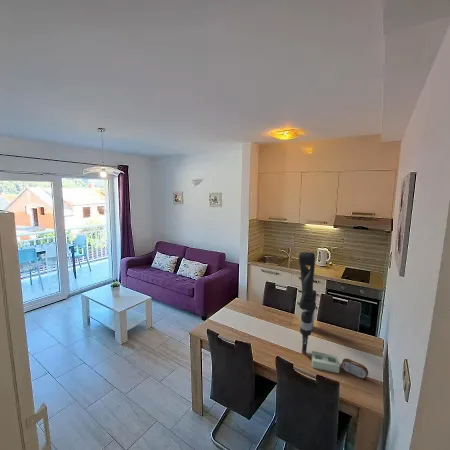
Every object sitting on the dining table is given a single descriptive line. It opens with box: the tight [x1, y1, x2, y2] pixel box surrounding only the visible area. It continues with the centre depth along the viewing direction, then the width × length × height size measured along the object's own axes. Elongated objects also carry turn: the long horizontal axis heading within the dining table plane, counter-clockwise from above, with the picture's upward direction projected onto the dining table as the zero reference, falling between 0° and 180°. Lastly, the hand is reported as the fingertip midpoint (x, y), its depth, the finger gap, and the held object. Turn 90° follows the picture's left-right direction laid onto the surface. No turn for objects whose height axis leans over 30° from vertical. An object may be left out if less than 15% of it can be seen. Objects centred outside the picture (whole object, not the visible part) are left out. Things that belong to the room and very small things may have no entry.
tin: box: [341, 358, 369, 380], centre depth 157 cm, size 15×3×8 cm, turn 50°
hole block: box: [311, 350, 340, 374], centre depth 165 cm, size 10×16×5 cm, turn 73°
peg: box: [301, 343, 308, 356], centre depth 176 cm, size 3×3×10 cm
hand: (304, 349), depth 176 cm, fingers open, 3 cm apart
